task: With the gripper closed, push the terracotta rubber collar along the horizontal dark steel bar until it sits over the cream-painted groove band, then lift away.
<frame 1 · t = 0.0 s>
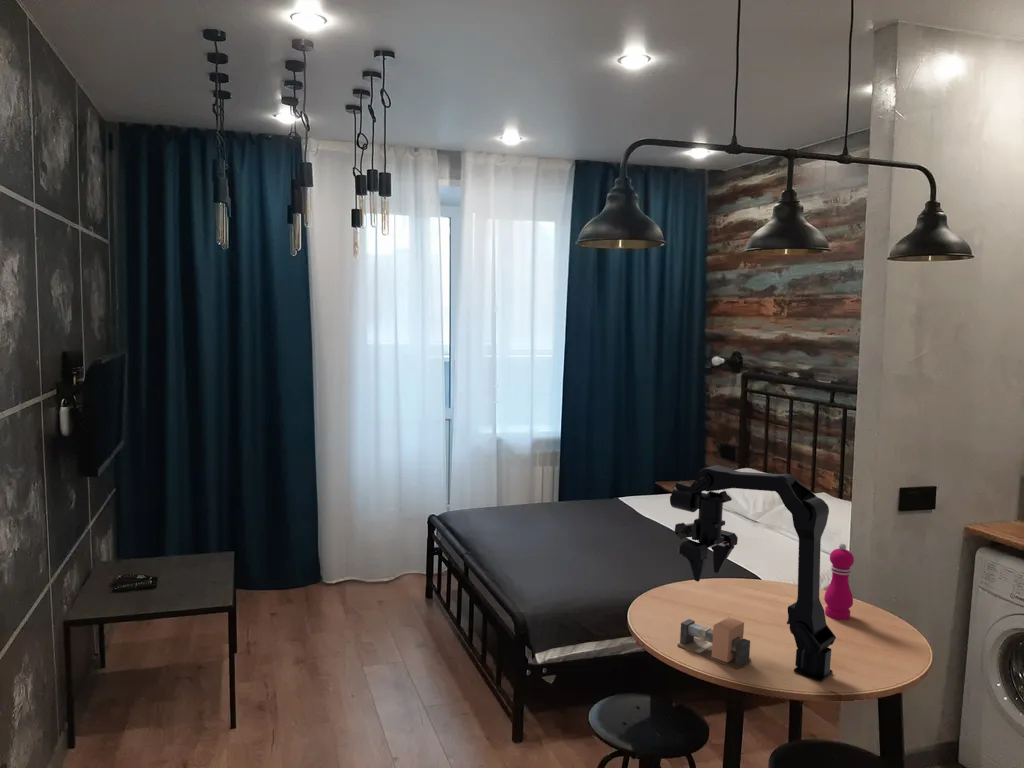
hand: (706, 576, 194), 15 cm above the table, fingers open, 9 cm apart
pepper mill: (837, 616, 210), on the table
rail: (713, 653, 184), on the table
collar: (727, 639, 181), point 5 cm above the table, slide at 0.0 cm
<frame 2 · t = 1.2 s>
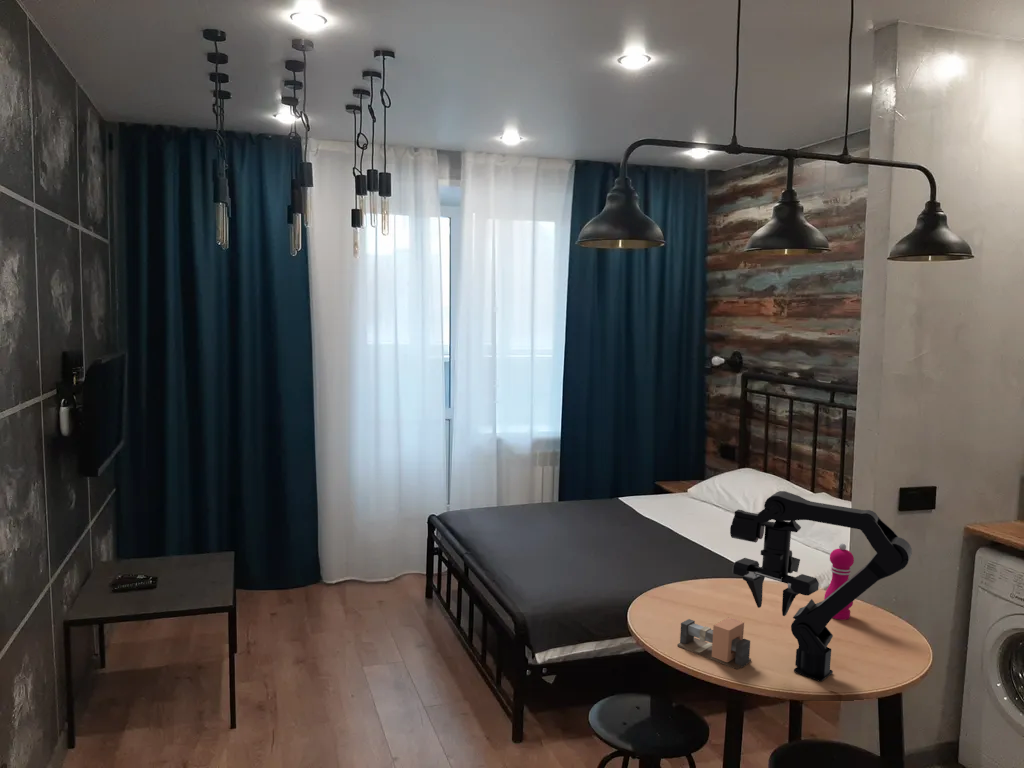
hand: (771, 611, 180), 12 cm above the table, fingers open, 6 cm apart
nothing on the table moved.
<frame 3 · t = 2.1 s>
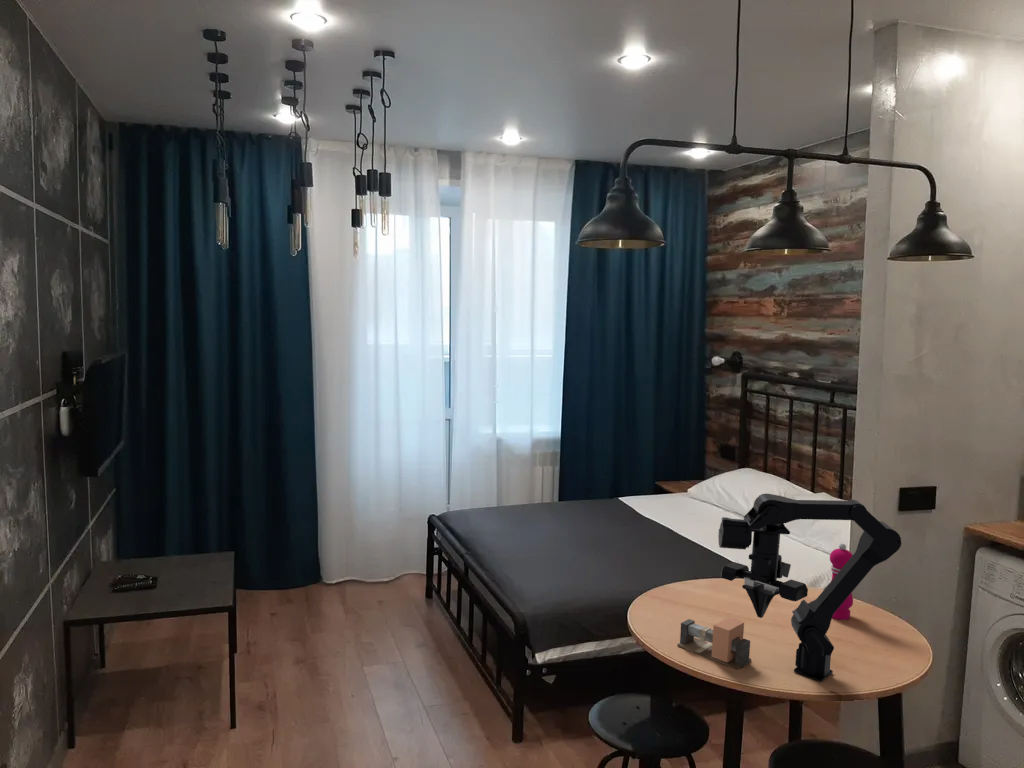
hand: (760, 617, 176), 12 cm above the table, fingers closed
nothing on the table moved.
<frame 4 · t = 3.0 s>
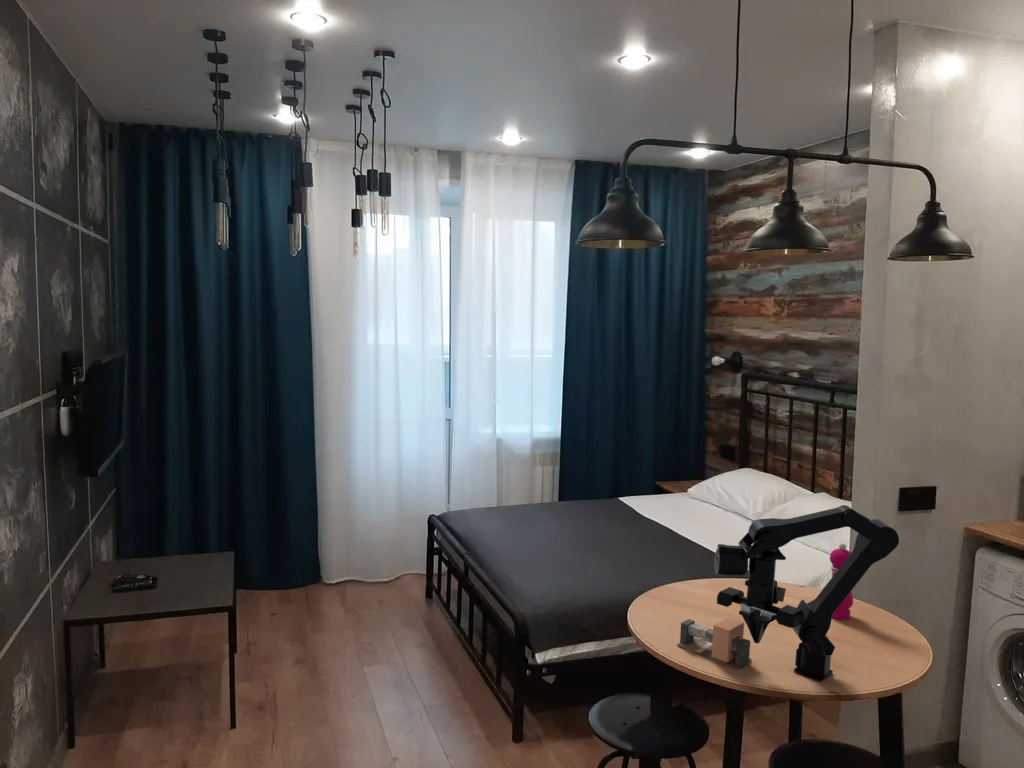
hand: (757, 642, 176), 6 cm above the table, fingers closed
nothing on the table moved.
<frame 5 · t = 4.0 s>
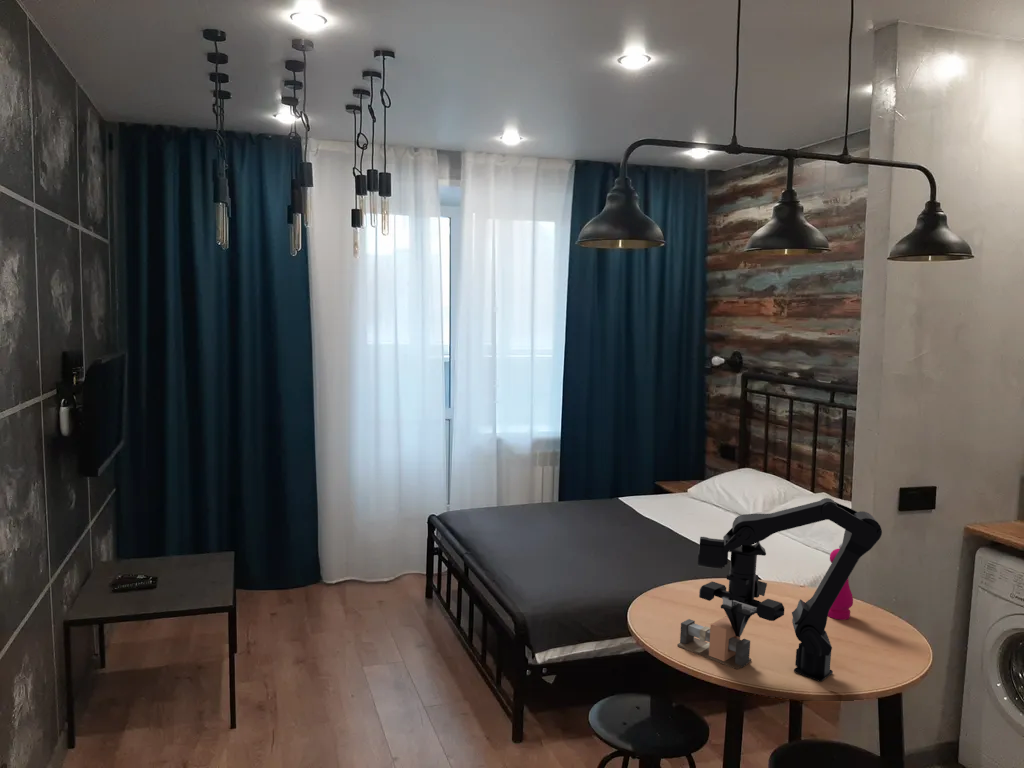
hand: (738, 635, 179), 6 cm above the table, fingers closed
collar: (725, 638, 182), point 5 cm above the table, slide at 0.8 cm, touching gripper
everything else where it was.
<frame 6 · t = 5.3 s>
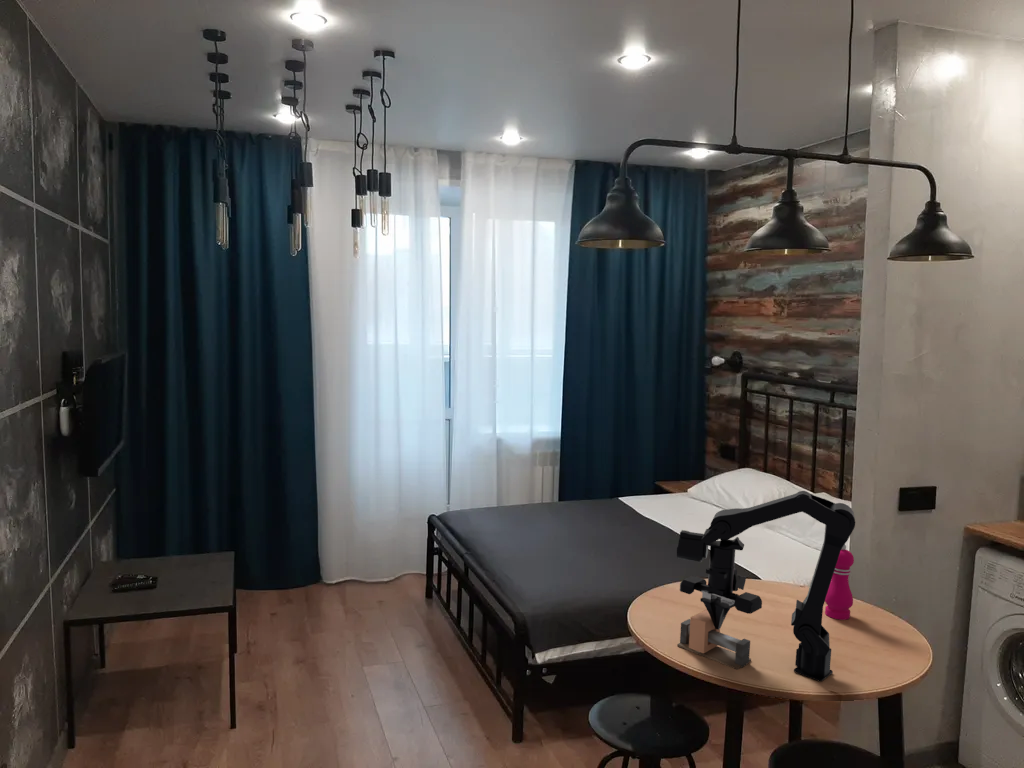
hand: (717, 628, 183), 6 cm above the table, fingers closed
collar: (704, 631, 185), point 5 cm above the table, slide at 6.2 cm, touching gripper
everything else where it was.
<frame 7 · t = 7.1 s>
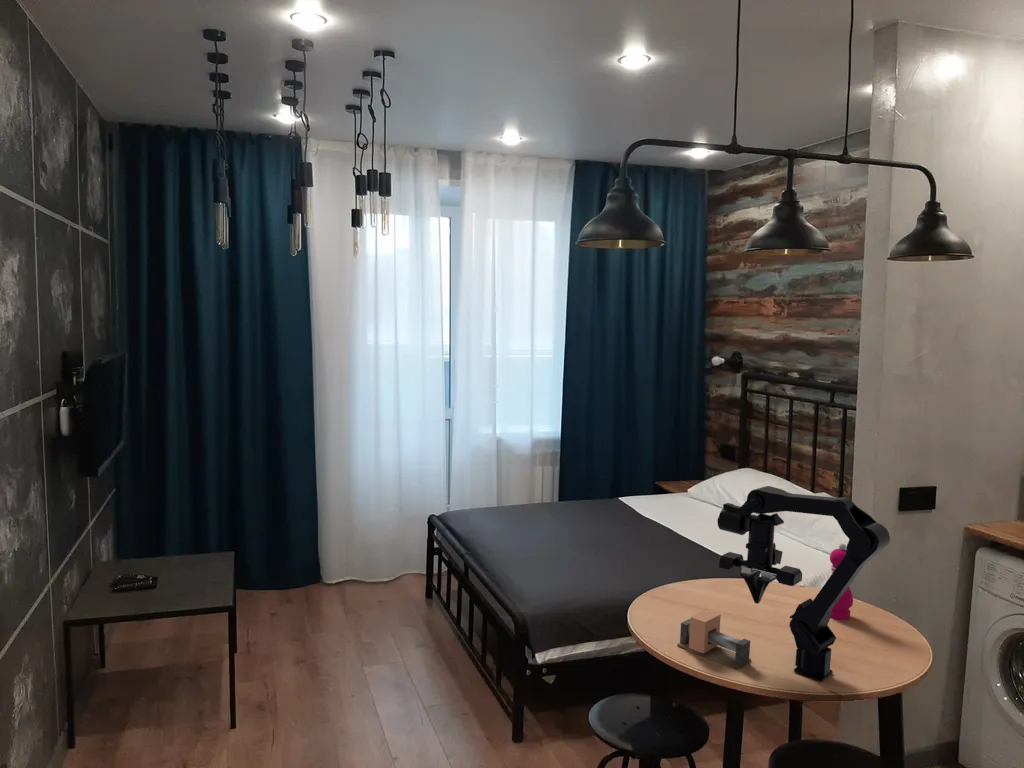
hand: (757, 602, 185), 12 cm above the table, fingers closed
collar: (704, 631, 185), point 5 cm above the table, slide at 6.2 cm
everything else where it was.
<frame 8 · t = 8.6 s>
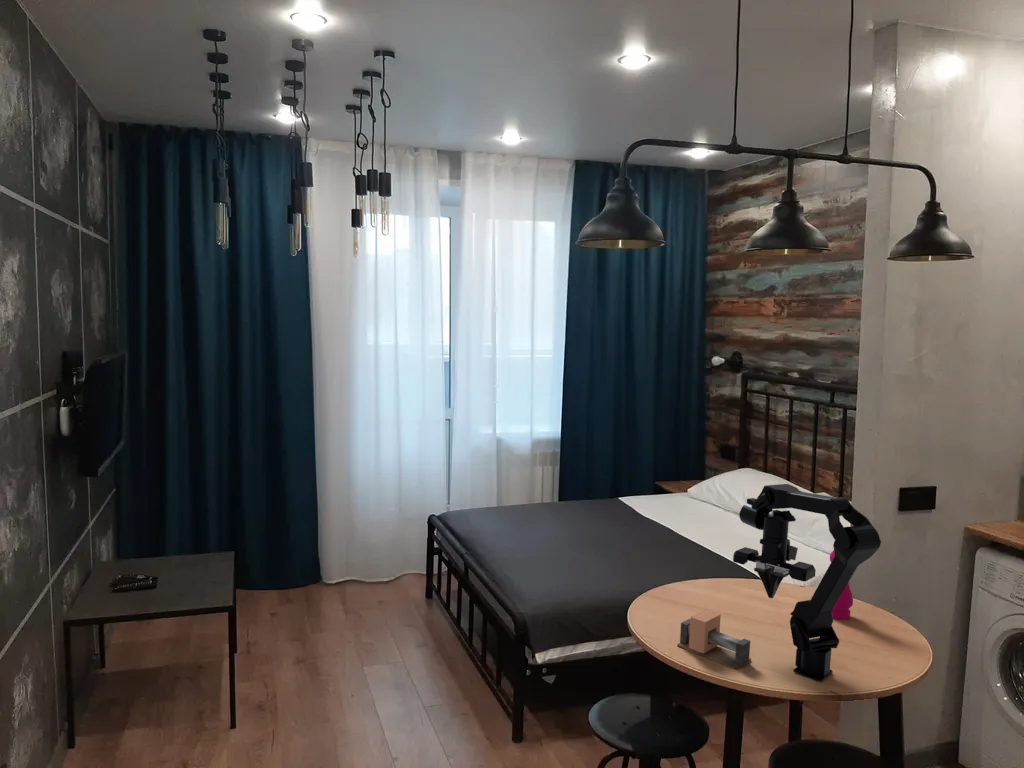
hand: (771, 597, 188), 12 cm above the table, fingers closed
nothing on the table moved.
at the end: collar slide at 6.2 cm; collar touching nothing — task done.
